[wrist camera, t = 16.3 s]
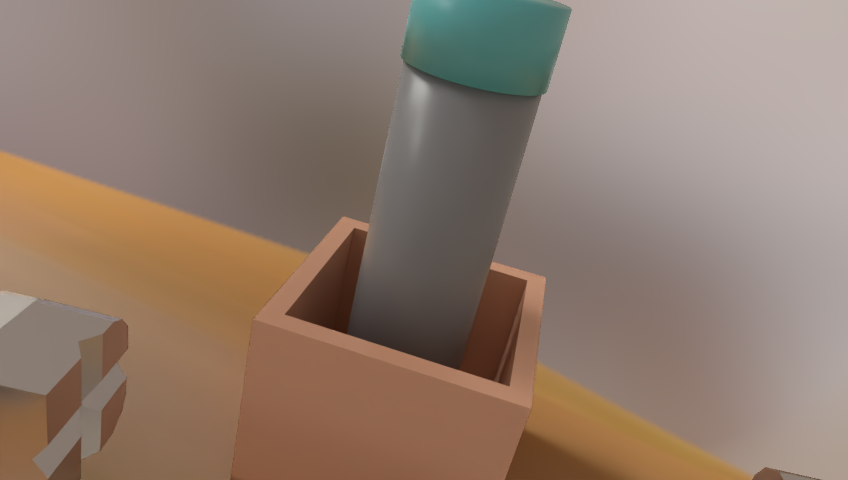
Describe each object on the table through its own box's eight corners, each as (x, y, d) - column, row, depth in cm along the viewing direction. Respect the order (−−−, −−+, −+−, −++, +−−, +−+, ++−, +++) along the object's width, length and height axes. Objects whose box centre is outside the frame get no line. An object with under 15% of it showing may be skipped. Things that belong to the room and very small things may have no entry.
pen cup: (229, 490, 20) (253, 319, 17) (316, 356, 26) (343, 216, 24) (469, 575, 19) (531, 409, 17) (497, 415, 26) (546, 277, 23)
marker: (370, 495, 20) (497, 0, 14) (301, 415, 22) (385, -38, 16) (462, 452, 22) (603, 16, 17) (391, 384, 25) (492, -19, 19)
